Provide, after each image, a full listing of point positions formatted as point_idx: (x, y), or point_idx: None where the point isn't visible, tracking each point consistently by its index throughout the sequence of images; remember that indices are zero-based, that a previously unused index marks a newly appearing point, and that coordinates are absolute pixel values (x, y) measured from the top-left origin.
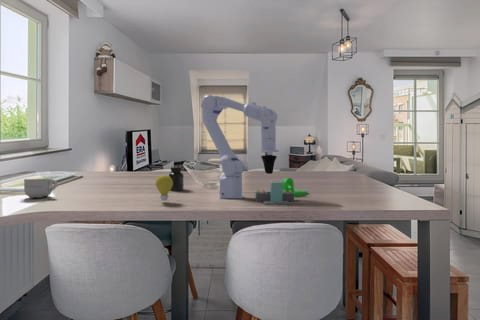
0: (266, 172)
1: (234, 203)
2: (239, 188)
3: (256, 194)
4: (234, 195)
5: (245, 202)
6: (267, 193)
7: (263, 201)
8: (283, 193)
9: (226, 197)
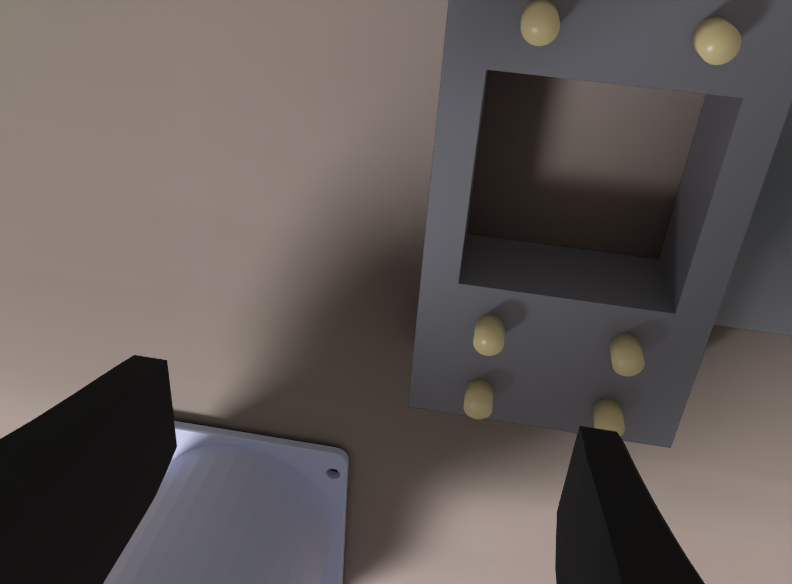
0: (174, 438)
1: (742, 578)
2: (281, 555)
3: (671, 438)
4: (327, 537)
5: (692, 486)
6: (684, 316)
7: (723, 322)
8: (767, 78)
9: (339, 578)
